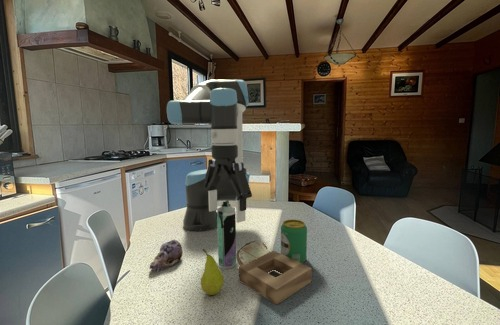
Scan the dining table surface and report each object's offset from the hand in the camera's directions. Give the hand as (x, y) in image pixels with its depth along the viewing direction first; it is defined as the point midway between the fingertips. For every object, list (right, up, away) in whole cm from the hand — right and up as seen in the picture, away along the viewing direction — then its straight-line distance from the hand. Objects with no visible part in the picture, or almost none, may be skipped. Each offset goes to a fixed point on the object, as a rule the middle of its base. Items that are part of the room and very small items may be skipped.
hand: (226, 215), depth 81 cm
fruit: (-3, -18, -12) cm, 21 cm away
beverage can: (+21, -15, +5) cm, 26 cm away
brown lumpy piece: (-19, -16, +4) cm, 25 cm away
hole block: (+14, -17, -7) cm, 23 cm away
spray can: (0, -16, +3) cm, 16 cm away
